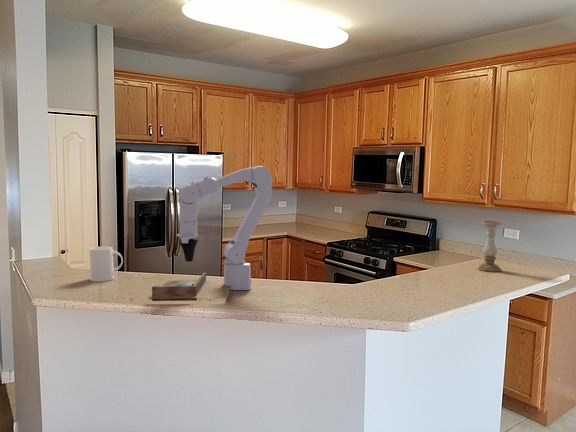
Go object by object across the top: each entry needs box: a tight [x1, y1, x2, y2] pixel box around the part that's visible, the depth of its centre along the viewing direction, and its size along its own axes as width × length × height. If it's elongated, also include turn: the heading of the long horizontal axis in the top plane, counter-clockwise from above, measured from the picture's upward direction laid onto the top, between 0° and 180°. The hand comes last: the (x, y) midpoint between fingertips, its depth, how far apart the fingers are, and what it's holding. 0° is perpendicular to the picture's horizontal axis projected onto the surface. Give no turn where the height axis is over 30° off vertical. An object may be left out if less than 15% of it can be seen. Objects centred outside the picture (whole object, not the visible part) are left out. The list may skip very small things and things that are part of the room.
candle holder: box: [477, 220, 502, 273], centre depth 188 cm, size 9×9×20 cm
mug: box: [89, 245, 124, 282], centre depth 172 cm, size 12×8×12 cm
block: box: [177, 281, 195, 286], centre depth 147 cm, size 4×4×3 cm
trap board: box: [151, 271, 207, 302], centre depth 153 cm, size 14×21×4 cm, turn 2°
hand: (189, 261), depth 154 cm, fingers closed
